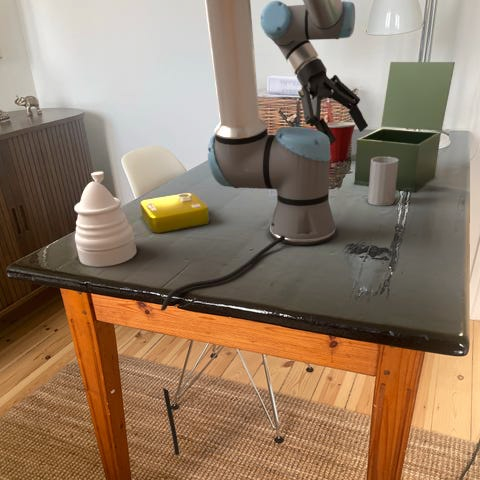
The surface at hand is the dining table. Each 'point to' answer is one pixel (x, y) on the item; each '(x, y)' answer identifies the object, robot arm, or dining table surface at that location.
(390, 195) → the tumbler
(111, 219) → the honey pot
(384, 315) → the dining table surface
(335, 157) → the plastic cup
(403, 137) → the green open box
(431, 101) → the lid
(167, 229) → the yellow box
